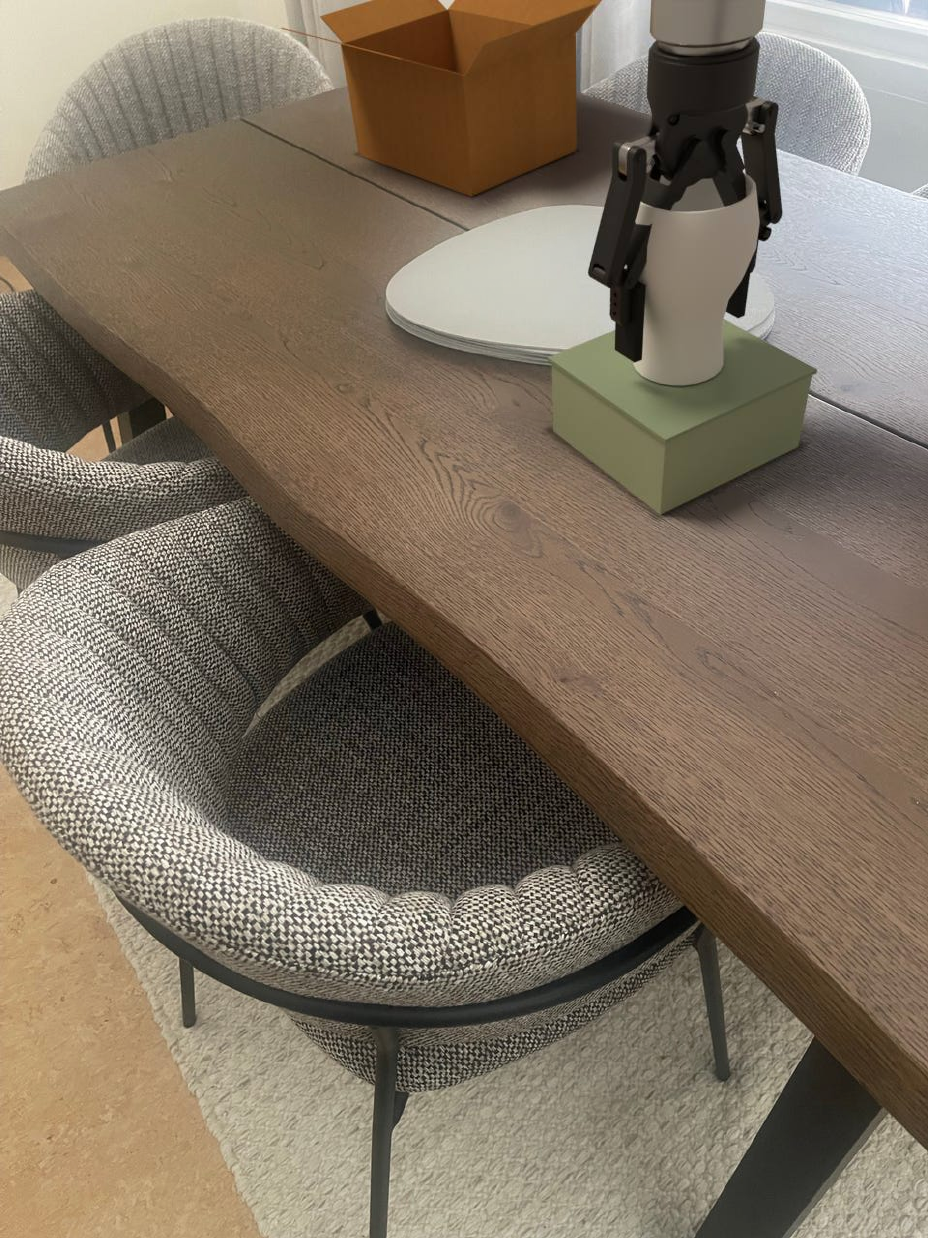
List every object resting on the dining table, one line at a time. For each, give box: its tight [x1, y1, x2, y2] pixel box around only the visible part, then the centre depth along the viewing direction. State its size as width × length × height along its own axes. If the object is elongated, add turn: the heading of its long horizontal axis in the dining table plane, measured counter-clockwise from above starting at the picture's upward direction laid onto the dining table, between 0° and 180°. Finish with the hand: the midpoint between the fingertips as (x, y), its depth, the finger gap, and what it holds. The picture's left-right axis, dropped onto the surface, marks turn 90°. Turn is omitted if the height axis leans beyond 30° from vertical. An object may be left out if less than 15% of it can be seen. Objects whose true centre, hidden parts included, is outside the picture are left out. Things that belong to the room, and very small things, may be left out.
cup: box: [624, 172, 760, 385], centre depth 77 cm, size 11×11×15 cm
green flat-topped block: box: [547, 318, 818, 516], centre depth 85 cm, size 16×16×8 cm
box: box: [280, 0, 603, 197], centre depth 137 cm, size 39×37×21 cm
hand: (680, 332), depth 80 cm, fingers closed on cup, 10 cm apart
